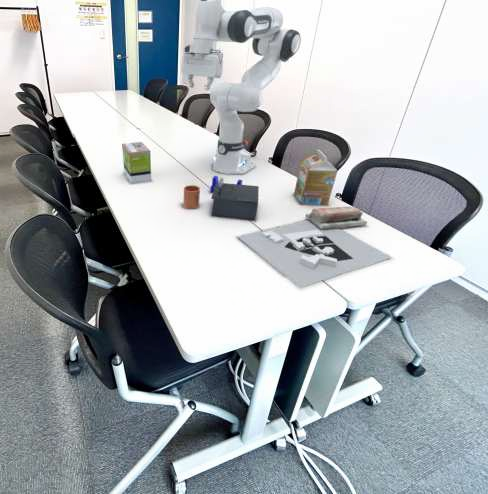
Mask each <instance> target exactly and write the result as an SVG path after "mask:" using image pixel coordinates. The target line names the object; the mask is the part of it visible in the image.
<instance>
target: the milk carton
mask: <svg viewBox="0 0 488 494" xmlns="http://www.w3.org/2000/svg"><path fill="white" fill-rule="evenodd" d="M297 173H298V174H297V177H296V178H297V179H296V182H295V186H294V192H293V195H294V197H295V198H296V200H297V201H298V204H299V205H306V206H307V205H309V206H311V205H312V206H328V205H329V202H330V198H331V195H332V192H333V188H334V185H335V182H336V177H337V175H338V169H337V168H336V167H335V166H334V165H333V164H332V163H331V162H330V161H329V160H328V159H327V156H326V155H325V154H324V153H323V152H322V151H321V150H320V149H317V150H316V152H315V153H313V154H310V155H308V156H307V157H305V158H303V159H302V160H301V161H300V165H299V168H298V172H297Z"/></svg>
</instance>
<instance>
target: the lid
mask: <svg viewBox="0 0 488 494" xmlns="http://www.w3.org/2000/svg"><path fill="white" fill-rule="evenodd" d="M218 180H219V183H216V184H215V188H214V191H213V193H211V197H210V198H211V200H213V199H218V200H228V201H238V202H248V203H258V204H259V187H260V186H259V185H249V184H242V185H239V184H237V183H226V182H224V181H225V179H224V178H223V177H220V178H219V179H218Z"/></svg>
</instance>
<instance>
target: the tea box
mask: <svg viewBox="0 0 488 494" xmlns="http://www.w3.org/2000/svg"><path fill="white" fill-rule="evenodd" d="M121 150H122V161H123V162H122V163H123V171H124V172H123V173H124V174H125V177H126V179H128V181H129V183H130V184H132V185H133V184H140V183H148V182H151V181H152V162H151V157H152V155H151V150H150V148H148V147H147V145H146V144H145V143H144V142H143V141H137V142H136V141H135V142H128V143H121Z"/></svg>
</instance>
